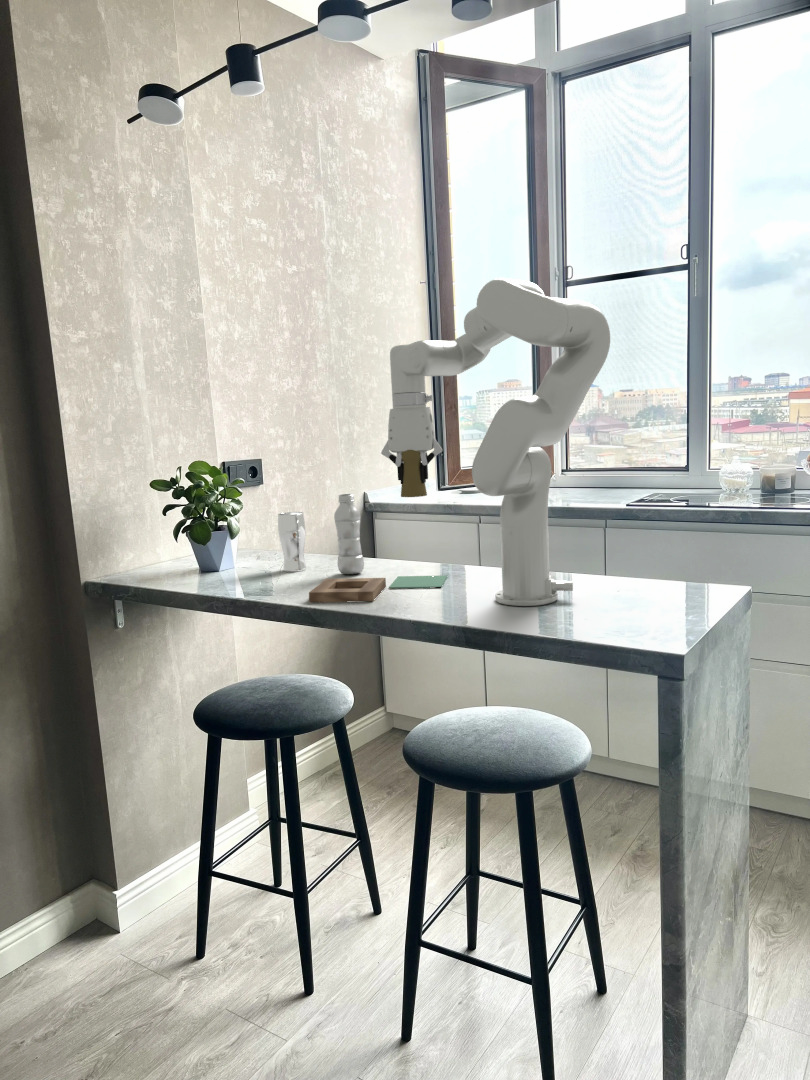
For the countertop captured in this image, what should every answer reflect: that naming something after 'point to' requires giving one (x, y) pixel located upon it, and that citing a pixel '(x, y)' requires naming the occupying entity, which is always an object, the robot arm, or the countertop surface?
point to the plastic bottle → (348, 536)
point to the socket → (347, 590)
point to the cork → (412, 475)
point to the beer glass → (292, 540)
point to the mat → (418, 581)
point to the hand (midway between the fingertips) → (413, 482)
